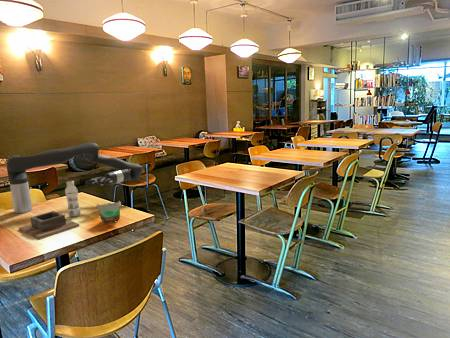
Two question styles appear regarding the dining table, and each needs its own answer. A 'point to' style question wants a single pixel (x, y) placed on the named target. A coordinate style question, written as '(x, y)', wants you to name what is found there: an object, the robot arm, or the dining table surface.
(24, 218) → the dining table surface
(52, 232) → the bottle holder
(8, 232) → the dining table surface
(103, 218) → the food container
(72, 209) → the plastic bottle
